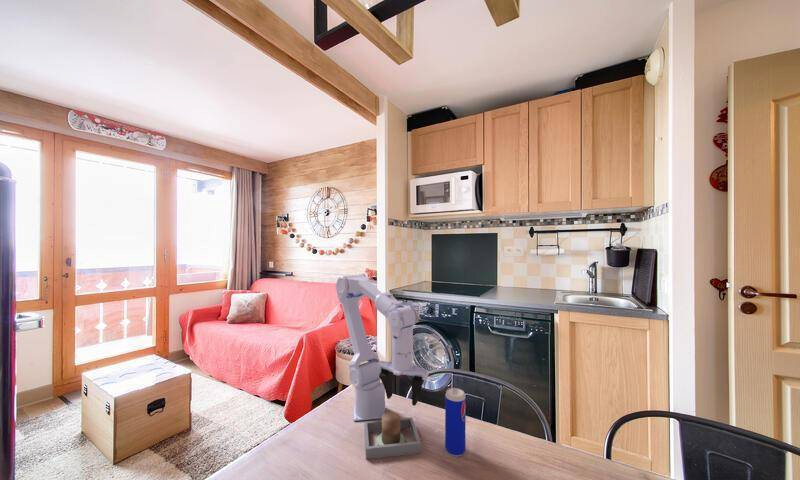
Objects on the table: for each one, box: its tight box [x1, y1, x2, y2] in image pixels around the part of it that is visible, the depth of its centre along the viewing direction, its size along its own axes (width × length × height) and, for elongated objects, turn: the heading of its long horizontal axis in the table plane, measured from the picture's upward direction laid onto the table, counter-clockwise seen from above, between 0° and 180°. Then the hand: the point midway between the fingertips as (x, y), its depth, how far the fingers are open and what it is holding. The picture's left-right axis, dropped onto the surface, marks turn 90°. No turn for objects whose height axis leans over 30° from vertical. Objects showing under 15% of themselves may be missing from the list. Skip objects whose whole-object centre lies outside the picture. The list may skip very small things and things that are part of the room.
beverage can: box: [444, 387, 467, 458], centre depth 74 cm, size 5×5×15 cm
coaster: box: [376, 432, 406, 446], centre depth 77 cm, size 8×8×1 cm
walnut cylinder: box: [381, 411, 401, 445], centre depth 77 cm, size 5×5×6 cm
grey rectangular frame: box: [363, 416, 422, 460], centre depth 77 cm, size 14×11×2 cm
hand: (402, 400), depth 79 cm, fingers open, 7 cm apart
